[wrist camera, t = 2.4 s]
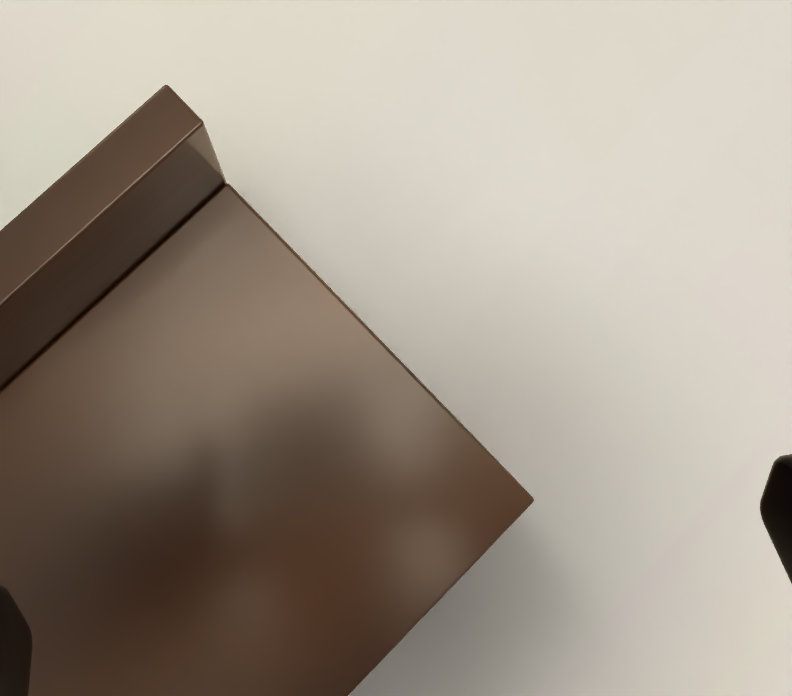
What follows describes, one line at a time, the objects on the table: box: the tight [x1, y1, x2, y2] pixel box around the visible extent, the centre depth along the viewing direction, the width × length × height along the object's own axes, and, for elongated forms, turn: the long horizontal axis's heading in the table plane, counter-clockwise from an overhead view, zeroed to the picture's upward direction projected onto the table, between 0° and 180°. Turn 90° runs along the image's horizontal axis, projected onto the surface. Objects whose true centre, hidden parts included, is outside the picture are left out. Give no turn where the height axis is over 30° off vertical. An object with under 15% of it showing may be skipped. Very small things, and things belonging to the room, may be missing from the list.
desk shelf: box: [0, 85, 534, 696], centre depth 18 cm, size 12×14×9 cm
